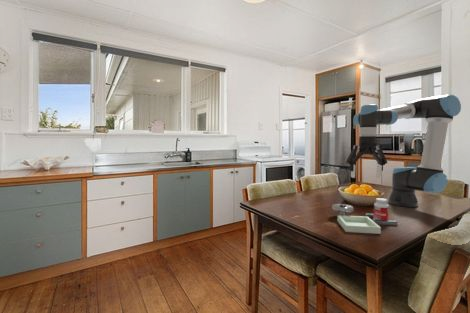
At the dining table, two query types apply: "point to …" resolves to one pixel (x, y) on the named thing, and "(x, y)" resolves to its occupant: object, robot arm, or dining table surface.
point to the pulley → (342, 208)
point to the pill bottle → (381, 209)
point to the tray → (358, 224)
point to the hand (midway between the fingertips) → (365, 177)
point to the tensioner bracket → (382, 221)
